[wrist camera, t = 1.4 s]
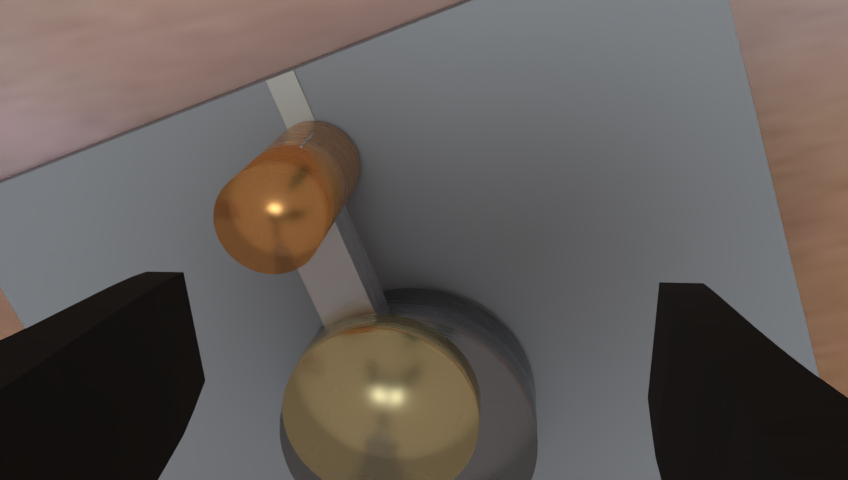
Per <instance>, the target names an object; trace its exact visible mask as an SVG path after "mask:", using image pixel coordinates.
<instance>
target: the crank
mask: <svg viewBox="0 0 848 480" xmlns="http://www.w3.org/2000/svg"><path fill="white" fill-rule="evenodd" d="M359 176H360V160H359V156H358V153H357V150H356V148H355V146H354V145H353V143H352V142H351V140H350V139H349V138H348V137H347V136H346V135H345V134H344V133H343V132H342V131H341V130H339V129H338V128H336V127H334V126H332V125H330V124H327V123H323V122H318V121H307V122H302V123H298V124H296V125H294V126H292V127H290V128H289V129H287V130H286V131H285V132H284V133H283V134H282V135H280V136H279V137H278V138H277V139H276V140H275V141H274V142H273V143H271V144H270V145H269V146H268V147H267V148H266V149H265V150H264V151H263V152H261V153H260V154H259V155H258V156H257V157H256V158H255V159H254V160H252V161H251V162H250V163H249V164H248V165H247V166H246V167H245V168H244V169H242V170H241V171H240V172H239V173H238V174H237V175H236V176H235V177H233V178H232V179H231V180H230V181H229V182H228V183H227V184H226V185H225V186H224V187H223V188H222V190H221V191H220V193H219V195H218V197H217V199H216V202H215V206H214V212H213V220H214V227H215V230H216V234H217V236H218V239H219V241H220V242H221V244H222V246H223V247H224V249H225V250H226V251H227V252H228V253H229V255H230V256H231V257H232V258H234V259H235V260H236V261H237V262H239V263H240V264H242V265H243V266H245V267H247V268H249V269H251V270H254V271H256V272H260V273H265V274H284V273H288V272H291V271H294V270H296V269H298V271H299V273H300V276H301V278H302V280H303V282H304V284H305V286H306V288H307V290H308V293H309V295H310V297H311V299H312V301H313V303H314V305H315V307H316V310H317V312H318V314H319V316H320V318H321V320H322V322H323V324H324V325H323V326H322V327H321V329H320V330H319V331H318V332H317V334H316V335H315V337H314V339H313V340H312V341H311V342H310V343H309V344H308V346H307V347H306V348H305V350H304V351H303V353H302V355H301V356H300V358H299V360H298V362H297V364H296V366H295V368H294V370H293V372H292V374H291V376H290V378H289V380H288V383H287V385H286V388H285V391H284V397H283V405H282V409H281V415H280V432H279V433H280V441H281V447H282V451H283V454H284V458H285V461H286V463H287V466H288V468H289V470H290V472H291V474H292V476H293V478H294V479H295V480H531V479H532V477H533V474H534V471H535V466H536V461H537V447H538V439H537V413H536V390H535V383H534V377H533V373H532V370H531V367H530V364H529V362H528V359H527V357H526V355H525V353H524V351H523V349H522V348H521V346H520V345H519V343H518V342H517V340H516V339H515V337H514V336H513V335H512V334H511V333H510V332H509V331H508V329H507V328H506V327H505V326H504V325H503V324H501V323H500V322H499V321H498V320H497V319H496V318H495V317H494V316H492V315H491V314H489V313H488V312H486V311H485V310H483V309H482V308H480V307H478V306H476V305H475V304H473V303H471V302H469V301H467V300H464V299H462V298H459V297H457V296H454V295H451V294H447V293H443V292H439V291H435V290H427V289H418V288H402V289H393V290H386V291H382V289H381V287H380V285H379V282H378V280H377V278H376V275H375V273H374V271H373V269H372V266H371V264H370V262H369V259H368V257H367V255H366V252H365V250H364V248H363V246H362V243H361V241H360V239H359V236H358V234H357V232H356V229H355V227H354V225H353V223H352V220H351V218H350V216H349V213H348V211H347V209H346V207H345V204H346V202H347V200H348V199H349V197H350V195H351V194H352V192H353V191H354V189H355V187H356V185H357V183H358V180H359Z"/></svg>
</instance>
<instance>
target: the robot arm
mask: <svg viewBox="0 0 848 480" xmlns="http://www.w3.org/2000/svg"><path fill="white" fill-rule="evenodd" d="M204 383H205V376H204V371H203V366H202V361H201V356H200V351H199V346H198V341H197V337H196V332H195V327H194V322H193V317H192V312H191V307H190V302H189V297H188V292H187V287H186V282H185V277H184V272H148V271H147V272H144V273H141V274H138V275H135V276H133V277H130V278H128V279H126V280H123V281H121V282H119V283H117V284H114V285H112V286H110V287H108V288H106V289H104V290H102V291H100V292H98V293H96V294H94V295H92V296H90V297H88V298H86V299H84V300H82V301H80V302H78V303H76V304H74V305H72V306H70V307H68V308H66V309H64V310H62V311H60V312H58V313H56V314H54V315H52V316H50V317H48V318H46V319H44V320H42V321H40V322H38V323H36V324H34V325H32V326H30V327H28V328H26V329H24V330H22V331H19V332H17V333H15V334H13V335H11V336H9V337H7V338H4V339H2V340H0V480H158V479H159V477H160V476H161V474H162V472H163V470H164V469H165V467H166V465H167V463H168V462H169V460H170V458H171V456H172V455H173V453H174V451H175V449H176V448H177V446H178V444H179V442H180V441H181V439H182V437H183V435H184V433H185V431H186V428H187V426H188V424H189V421H190V419H191V416H192V414H193V412H194V409H195V407H196V404H197V401H198V399H199V396H200V393H201V391H202V388H203V385H204ZM648 405H649V413H650V421H651V429H652V436H653V443H654V450H655V457H656V461H657V465H658V469H659V473H660V477H661V480H848V398H847V397H846V396H844V395H843V394H841V393H840V392H839V391H837V390H836V389H834V388H833V387H832V386H830V385H829V384H827V383H826V382H825V381H823V380H822V379H820V378H819V377H818V376H816V375H815V374H813V373H812V372H811V371H809V370H808V369H807V368H805V367H804V366H803V365H801V364H800V363H799V362H797V361H796V360H795V359H794V358H792V357H791V356H790V355H788V354H787V353H786V352H785V351H783V350H782V349H781V348H780V347H778V346H777V345H776V344H775V343H774V342H772V341H771V340H770V339H769V338H767V337H766V336H765V335H764V334H763V333H762V332H760V331H759V330H758V329H757V328H756V327H754V326H753V325H752V324H751V323H750V322H749V321H747V320H746V319H745V318H744V317H743V316H742V315H740V314H739V313H738V312H737V311H736V310H735V309H734V308H732V307H731V306H730V305H729V304H728V303H727V302H726V301H724V300H723V299H722V298H721V297H720V296H719V295H717V294H716V293H715V292H714V291H713V290H711V289H710V288H709V287H708V286H706V285H705V284H704V283H668V282H659V291H658V301H657V311H656V321H655V331H654V340H653V350H652V360H651V370H650V380H649V390H648Z"/></svg>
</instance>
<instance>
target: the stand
mask: <svg viewBox="0 0 848 480" xmlns="http://www.w3.org/2000/svg"><path fill="white" fill-rule="evenodd" d="M307 121H318V122H323V123H327V124H330V125H332V126H334V127H336V128H338V129H339V130H341V131H342V132H343V133H344V134H345V135H346V136H347V137H348V138H349V139H350V140H351V142H352V143H353V145H354V146H355V148H356V150H357V153H358V156H359V160H360V176H359V180H358V183H357V185H356V187H355V189H354V191H353V192H352V194H351V195H350V197H349V199H348V200H347V202H346V204H345V207H346V209H347V211H348V213H349V216H350V218H351V220H352V223H353V225H354V227H355V229H356V232H357V234H358V236H359V239H360V241H361V243H362V246H363V248H364V250H365V252H366V255H367V257H368V259H369V262H370V264H371V266H372V269H373V271H374V273H375V275H376V278H377V280H378V282H379V285H380V287H381V289H382V291H386V290H393V289H402V288H418V289H427V290H435V291H439V292H443V293H447V294H451V295H454V296H457V297H459V298H462V299H464V300H467V301H469V302H471V303H473V304H475V305H476V306H478V307H480V308H482V309H483V310H485V311H486V312H488V313H489V314H491V315H492V316H494V317H495V318H496V319H497V320H498V321H499V322H500V323H501V324H503V325H504V326H505V327H506V328H507V329H508V331H509V332H510V333H511V334H512V335H513V336H514V337H515V339H516V340H517V342H518V343H519V345H520V346H521V348H522V349H523V351H524V353H525V355H526V357H527V359H528V362H529V364H530V367H531V370H532V373H533V377H534V383H535V390H536V413H537V439H538V447H537V461H536V466H535V471H534V474H533V477H532V479H531V480H661V477H660V473H659V469H658V465H657V461H656V457H655V450H654V443H653V436H652V429H651V421H650V413H649V405H648V390H649V380H650V370H651V360H652V350H653V340H654V331H655V321H656V311H657V301H658V291H659V282H668V283H704V284H705V285H706V286H708V287H709V288H710V289H711V290H713V291H714V292H715V293H716V294H717V295H719V296H720V297H721V298H722V299H723V300H724V301H726V302H727V303H728V304H729V305H730V306H731V307H732V308H734V309H735V310H736V311H737V312H738V313H739V314H740V315H742V316H743V317H744V318H745V319H746V320H747V321H749V322H750V323H751V324H752V325H753V326H754V327H756V328H757V329H758V330H759V331H760V332H762V333H763V334H764V335H765V336H766V337H767V338H769V339H770V340H771V341H772V342H774V343H775V344H776V345H777V346H778V347H780V348H781V349H782V350H783V351H785V352H786V353H787V354H788V355H790V356H791V357H792V358H794V359H795V360H796V361H797V362H799V363H800V364H801V365H803V366H804V367H805V368H807V369H808V370H809V371H811V372H812V373H813V374H815V375H816V376H818V377H819V374H818V370H817V366H816V362H815V358H814V353H813V349H812V345H811V341H810V337H809V333H808V328H807V324H806V320H805V316H804V312H803V308H802V303H801V299H800V295H799V291H798V287H797V283H796V278H795V274H794V270H793V266H792V262H791V258H790V253H789V249H788V245H787V241H786V237H785V233H784V228H783V224H782V220H781V216H780V212H779V208H778V203H777V199H776V195H775V191H774V187H773V183H772V178H771V174H770V170H769V166H768V162H767V158H766V153H765V149H764V145H763V141H762V137H761V133H760V128H759V124H758V120H757V116H756V112H755V108H754V103H753V99H752V95H751V91H750V87H749V83H748V78H747V74H746V70H745V66H744V62H743V58H742V53H741V49H740V45H739V41H738V37H737V33H736V29H735V24H734V20H733V16H732V12H731V8H730V4H729V0H464V1H461V2H459V3H456V4H453V5H451V6H448V7H446V8H443V9H441V10H438V11H435V12H433V13H430V14H428V15H425V16H423V17H420V18H417V19H415V20H412V21H410V22H407V23H405V24H402V25H399V26H397V27H394V28H392V29H389V30H386V31H384V32H381V33H379V34H376V35H374V36H371V37H368V38H366V39H363V40H361V41H358V42H356V43H353V44H350V45H348V46H345V47H343V48H340V49H338V50H335V51H332V52H330V53H327V54H325V55H322V56H320V57H317V58H314V59H312V60H309V61H307V62H304V63H302V64H299V65H296V66H294V67H291V68H289V69H286V70H284V71H281V72H278V73H276V74H273V75H271V76H268V77H265V78H263V79H260V80H258V81H255V82H253V83H250V84H247V85H245V86H242V87H240V88H237V89H235V90H232V91H229V92H227V93H224V94H222V95H219V96H217V97H214V98H211V99H209V100H206V101H204V102H201V103H199V104H196V105H193V106H191V107H188V108H186V109H183V110H181V111H178V112H175V113H173V114H170V115H168V116H165V117H163V118H160V119H157V120H155V121H152V122H150V123H147V124H144V125H142V126H139V127H137V128H134V129H132V130H129V131H126V132H124V133H121V134H119V135H116V136H114V137H111V138H108V139H106V140H103V141H101V142H98V143H96V144H93V145H90V146H88V147H85V148H83V149H80V150H78V151H75V152H72V153H70V154H67V155H65V156H62V157H60V158H57V159H54V160H52V161H49V162H47V163H44V164H42V165H39V166H36V167H34V168H31V169H29V170H26V171H23V172H21V173H18V174H16V175H13V176H11V177H8V178H5V179H3V180H0V288H1V290H2V291H3V293H4V295H5V296H6V298H7V299H8V301H9V303H10V304H11V306H12V308H13V309H14V311H15V313H16V314H17V316H18V317H19V319H20V321H21V322H22V324H23V326H24V327H25V329H26V328H28V327H30V326H32V325H34V324H36V323H38V322H40V321H42V320H44V319H46V318H48V317H50V316H52V315H54V314H56V313H58V312H60V311H62V310H64V309H66V308H68V307H70V306H72V305H74V304H76V303H78V302H80V301H82V300H84V299H86V298H88V297H90V296H92V295H94V294H96V293H98V292H100V291H102V290H104V289H106V288H108V287H110V286H112V285H114V284H117V283H119V282H121V281H123V280H126V279H128V278H130V277H133V276H135V275H138V274H141V273H144V272H147V271H148V272H184V277H185V282H186V287H187V292H188V297H189V302H190V307H191V312H192V317H193V322H194V327H195V332H196V337H197V341H198V346H199V351H200V356H201V361H202V366H203V371H204V376H205V383H204V385H203V388H202V391H201V393H200V396H199V399H198V401H197V404H196V407H195V409H194V412H193V414H192V416H191V419H190V421H189V424H188V426H187V428H186V431H185V433H184V435H183V437H182V439H181V441H180V442H179V444H178V446H177V448H176V449H175V451H174V453H173V455H172V456H171V458H170V460H169V462H168V463H167V465H166V467H165V469H164V470H163V472H162V474H161V476H160V477H159V479H158V480H295V479H294V478H293V476H292V474H291V472H290V470H289V468H288V466H287V463H286V461H285V458H284V454H283V451H282V447H281V441H280V433H279V432H280V415H281V409H282V405H283V397H284V391H285V388H286V385H287V383H288V380H289V378H290V376H291V374H292V372H293V370H294V368H295V366H296V364H297V362H298V360H299V358H300V356H301V355H302V353H303V351H304V350H305V348H306V347H307V346H308V344H309V343H310V342H311V341H312V340H313V339H314V337H315V335H316V334H317V332H318V331H319V330H320V329H321V327H322V326H323V325H324V324H323V322H322V320H321V318H320V316H319V314H318V312H317V310H316V307H315V305H314V303H313V301H312V299H311V297H310V295H309V293H308V290H307V288H306V286H305V284H304V282H303V280H302V278H301V276H300V273H299V271H298V269H296V270H294V271H291V272H288V273H284V274H265V273H260V272H256V271H254V270H251V269H249V268H247V267H245V266H243V265H242V264H240V263H239V262H237V261H236V260H235V259H234V258H232V257H231V256H230V255H229V253H228V252H227V251H226V250H225V249H224V247H223V246H222V244H221V242H220V241H219V239H218V236H217V234H216V230H215V227H214V220H213V212H214V206H215V202H216V199H217V197H218V195H219V193H220V191H221V190H222V188H223V187H224V186H225V185H226V184H227V183H228V182H229V181H230V180H231V179H232V178H233V177H235V176H236V175H237V174H238V173H239V172H240V171H241V170H242V169H244V168H245V167H246V166H247V165H248V164H249V163H250V162H251V161H252V160H254V159H255V158H256V157H257V156H258V155H259V154H260V153H261V152H263V151H264V150H265V149H266V148H267V147H268V146H269V145H270V144H271V143H273V142H274V141H275V140H276V139H277V138H278V137H279V136H280V135H282V134H283V133H284V132H285V131H286V130H287V129H289V128H290V127H292V126H294V125H296V124H298V123H302V122H307Z"/></svg>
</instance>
